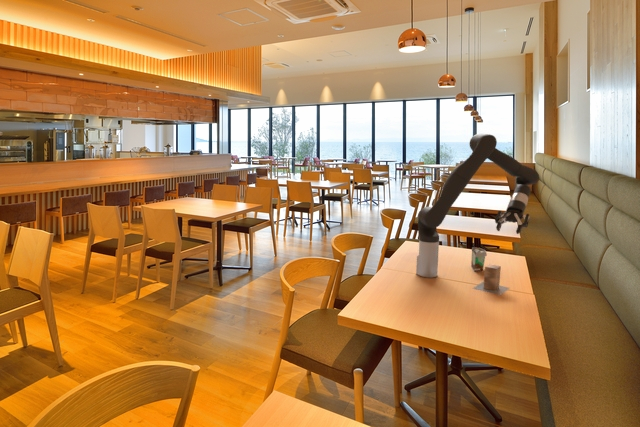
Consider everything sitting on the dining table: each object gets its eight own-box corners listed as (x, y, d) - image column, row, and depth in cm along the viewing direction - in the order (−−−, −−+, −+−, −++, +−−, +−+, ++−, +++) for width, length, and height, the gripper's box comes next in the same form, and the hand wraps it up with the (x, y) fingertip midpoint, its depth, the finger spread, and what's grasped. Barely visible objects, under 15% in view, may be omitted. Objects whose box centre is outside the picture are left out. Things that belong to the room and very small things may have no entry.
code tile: (472, 288, 181) (472, 288, 181) (482, 281, 190) (482, 281, 190) (500, 295, 173) (500, 295, 173) (510, 288, 182) (510, 287, 182)
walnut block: (483, 288, 181) (485, 266, 179) (487, 285, 185) (489, 264, 183) (494, 291, 178) (496, 268, 176) (499, 288, 181) (500, 266, 180)
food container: (487, 273, 202) (489, 253, 200) (474, 272, 203) (476, 253, 202) (483, 266, 214) (484, 247, 212) (470, 265, 215) (471, 247, 213)
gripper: (500, 198, 197) (490, 224, 191) (532, 200, 188) (522, 229, 182) (503, 207, 202) (493, 234, 196) (535, 210, 193) (525, 238, 186)
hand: (507, 231), depth 189 cm, fingers open, 8 cm apart
